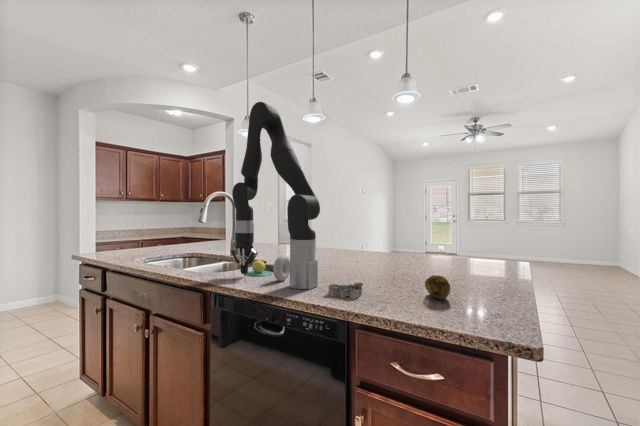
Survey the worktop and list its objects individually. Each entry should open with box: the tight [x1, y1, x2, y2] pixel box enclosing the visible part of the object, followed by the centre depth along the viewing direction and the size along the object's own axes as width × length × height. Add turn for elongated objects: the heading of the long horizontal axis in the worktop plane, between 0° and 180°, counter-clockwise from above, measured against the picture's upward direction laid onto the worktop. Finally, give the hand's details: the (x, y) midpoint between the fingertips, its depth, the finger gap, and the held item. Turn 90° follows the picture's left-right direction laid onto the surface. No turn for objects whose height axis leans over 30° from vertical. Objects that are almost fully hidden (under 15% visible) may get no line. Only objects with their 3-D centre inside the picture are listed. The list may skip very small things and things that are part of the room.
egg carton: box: [328, 282, 364, 299], centre depth 101 cm, size 11×8×4 cm
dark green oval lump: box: [424, 274, 451, 300], centre depth 97 cm, size 8×13×8 cm, turn 149°
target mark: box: [244, 270, 273, 277], centre depth 134 cm, size 12×12×1 cm
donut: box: [272, 254, 290, 282], centre depth 121 cm, size 10×4×10 cm, turn 155°
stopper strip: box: [264, 263, 274, 272], centre depth 142 cm, size 14×2×2 cm, turn 61°
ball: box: [251, 260, 266, 273], centre depth 136 cm, size 6×6×6 cm
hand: (244, 273), depth 126 cm, fingers closed
